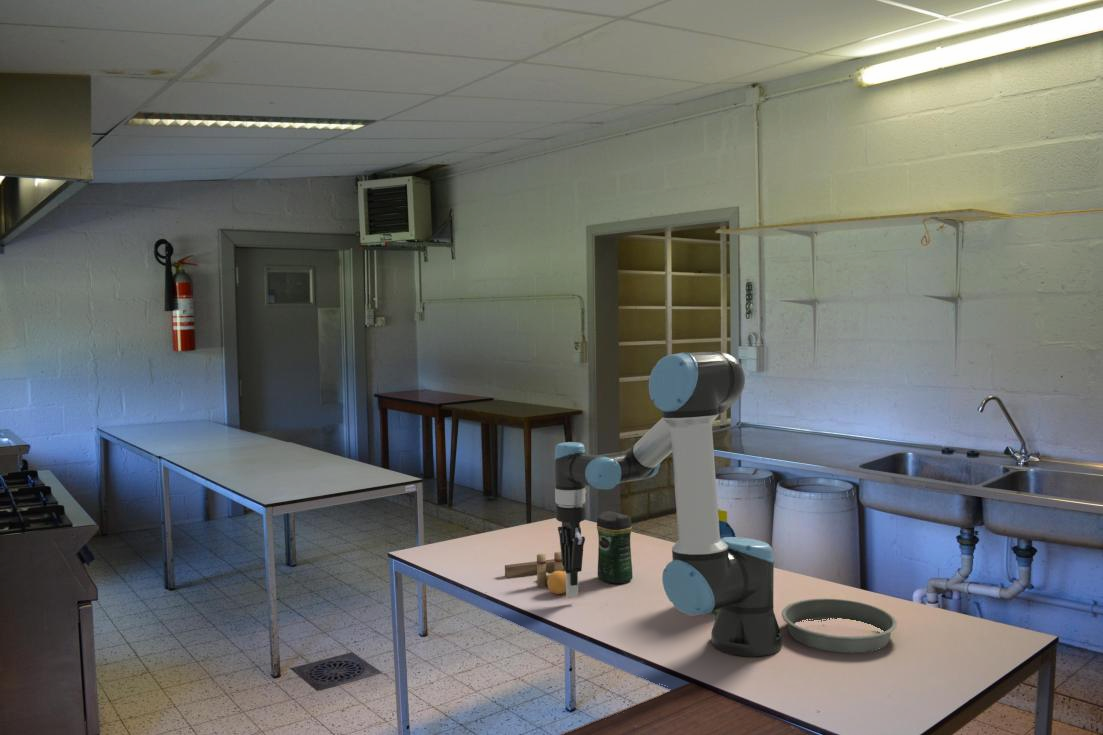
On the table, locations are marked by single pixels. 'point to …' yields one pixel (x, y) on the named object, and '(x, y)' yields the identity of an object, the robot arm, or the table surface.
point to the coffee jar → (614, 547)
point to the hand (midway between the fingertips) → (572, 596)
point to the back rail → (527, 569)
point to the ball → (557, 582)
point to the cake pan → (836, 609)
